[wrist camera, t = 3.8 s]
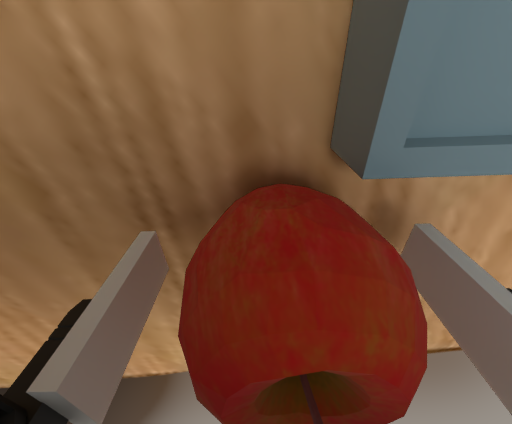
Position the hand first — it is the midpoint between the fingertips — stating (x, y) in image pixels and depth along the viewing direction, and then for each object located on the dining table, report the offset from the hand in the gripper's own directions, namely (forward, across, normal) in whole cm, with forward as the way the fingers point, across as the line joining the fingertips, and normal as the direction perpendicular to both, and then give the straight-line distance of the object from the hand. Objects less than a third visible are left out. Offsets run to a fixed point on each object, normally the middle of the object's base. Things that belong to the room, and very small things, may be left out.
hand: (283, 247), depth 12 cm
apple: (+4, 0, 0) cm, 4 cm away
